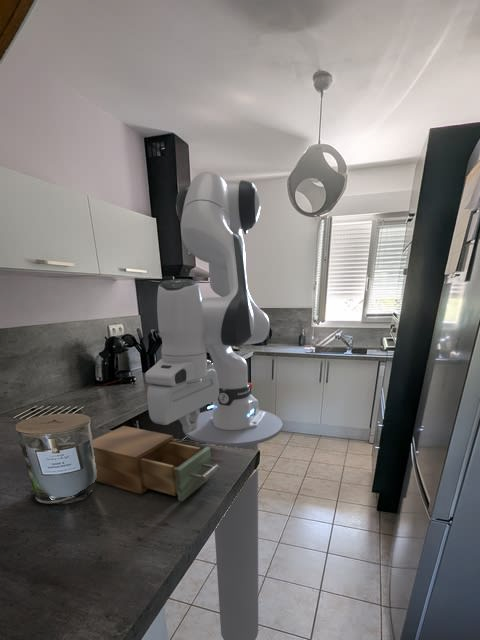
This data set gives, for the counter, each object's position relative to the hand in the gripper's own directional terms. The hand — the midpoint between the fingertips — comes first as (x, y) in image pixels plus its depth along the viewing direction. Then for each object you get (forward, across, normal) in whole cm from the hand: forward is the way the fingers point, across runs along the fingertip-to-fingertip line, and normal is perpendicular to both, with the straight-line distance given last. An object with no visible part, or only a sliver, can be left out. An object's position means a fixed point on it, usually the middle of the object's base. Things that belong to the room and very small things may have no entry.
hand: (190, 430), depth 77 cm
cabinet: (+15, 0, -19) cm, 24 cm away
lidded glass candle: (+16, +14, -29) cm, 36 cm away
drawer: (+14, 0, -5) cm, 15 cm away
